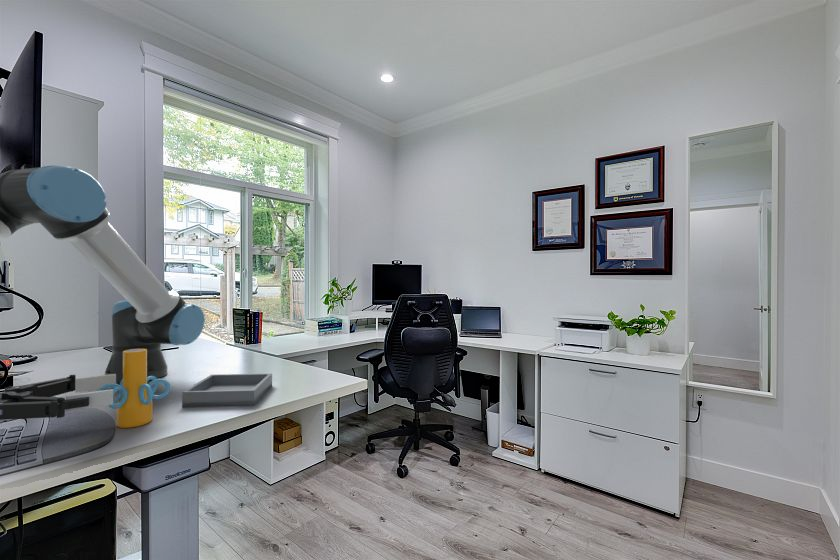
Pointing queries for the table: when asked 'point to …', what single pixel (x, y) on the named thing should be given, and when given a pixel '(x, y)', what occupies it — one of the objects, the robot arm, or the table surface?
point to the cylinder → (135, 390)
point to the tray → (227, 390)
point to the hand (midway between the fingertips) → (114, 388)
